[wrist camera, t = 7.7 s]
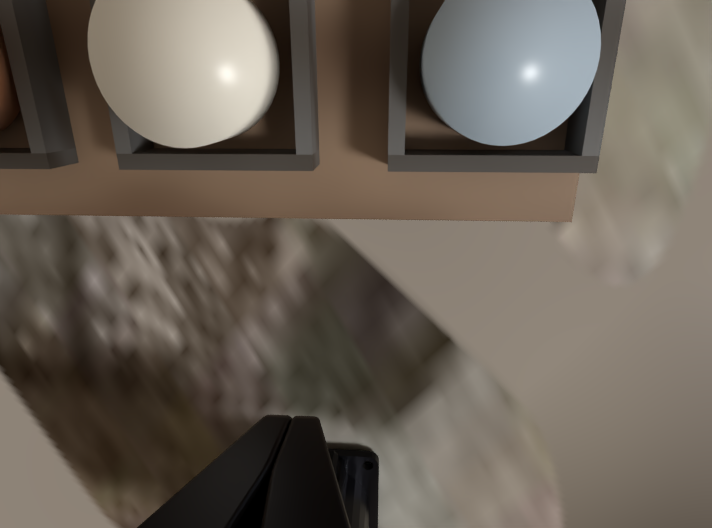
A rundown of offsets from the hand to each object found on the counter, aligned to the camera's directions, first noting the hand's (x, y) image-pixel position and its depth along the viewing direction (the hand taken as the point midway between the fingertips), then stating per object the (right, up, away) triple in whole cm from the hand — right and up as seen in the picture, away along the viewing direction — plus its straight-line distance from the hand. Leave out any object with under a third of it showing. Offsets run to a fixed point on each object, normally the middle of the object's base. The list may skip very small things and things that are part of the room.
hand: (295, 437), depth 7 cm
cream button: (-3, +9, +6) cm, 11 cm away
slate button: (+5, +9, +7) cm, 12 cm away
